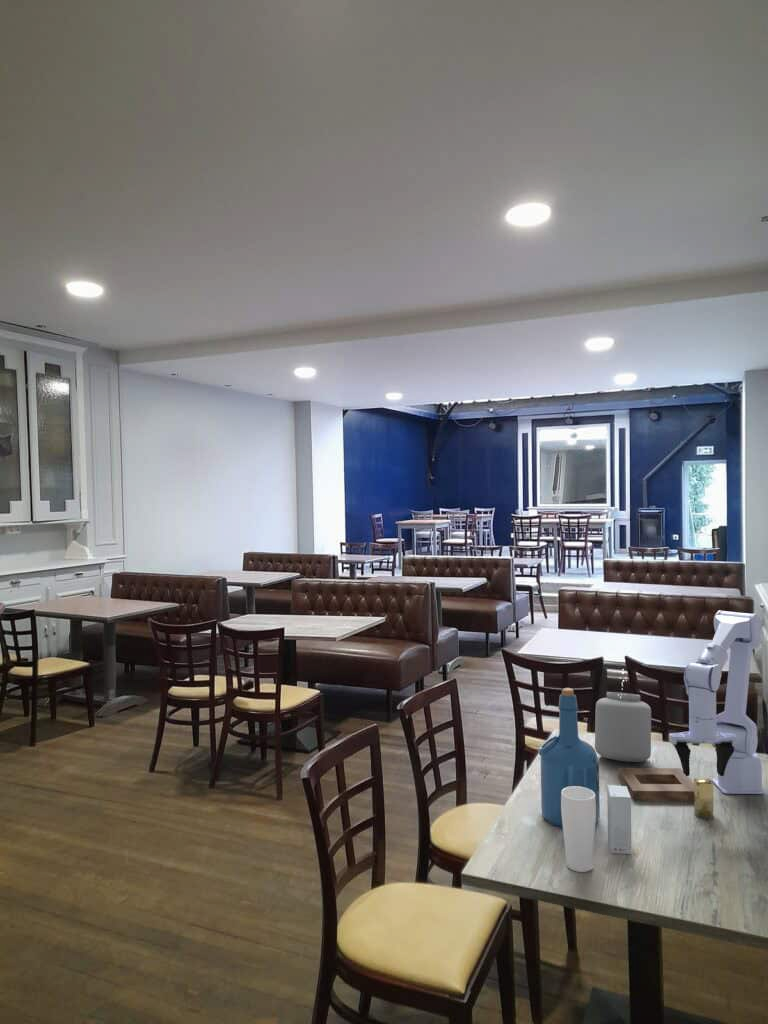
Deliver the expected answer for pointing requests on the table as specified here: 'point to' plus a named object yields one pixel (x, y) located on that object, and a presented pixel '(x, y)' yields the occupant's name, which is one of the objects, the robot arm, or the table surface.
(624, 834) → the skincare box
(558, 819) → the wine bottle
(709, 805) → the brass peg
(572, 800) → the drinking glass
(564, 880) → the table surface
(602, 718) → the jar
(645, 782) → the jig plate
